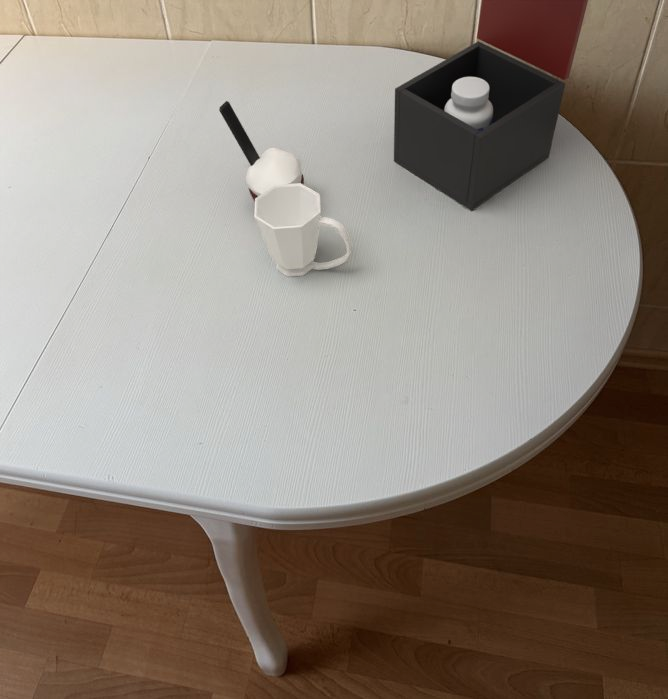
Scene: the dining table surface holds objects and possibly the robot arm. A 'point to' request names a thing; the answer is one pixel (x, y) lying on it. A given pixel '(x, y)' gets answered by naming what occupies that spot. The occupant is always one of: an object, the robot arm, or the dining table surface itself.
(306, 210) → the cup
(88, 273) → the dining table surface
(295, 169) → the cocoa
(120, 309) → the dining table surface
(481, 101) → the pill bottle
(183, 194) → the dining table surface
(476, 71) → the dark open-top bin
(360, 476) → the dining table surface
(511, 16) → the bin lid
